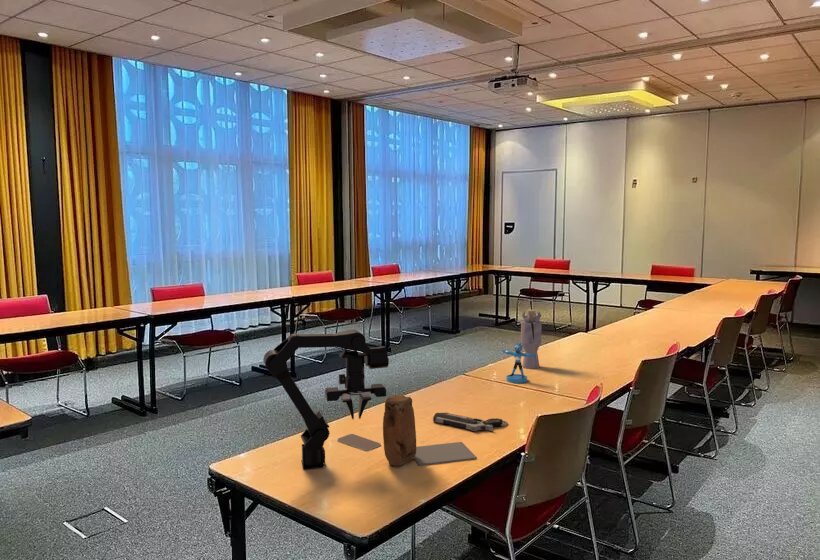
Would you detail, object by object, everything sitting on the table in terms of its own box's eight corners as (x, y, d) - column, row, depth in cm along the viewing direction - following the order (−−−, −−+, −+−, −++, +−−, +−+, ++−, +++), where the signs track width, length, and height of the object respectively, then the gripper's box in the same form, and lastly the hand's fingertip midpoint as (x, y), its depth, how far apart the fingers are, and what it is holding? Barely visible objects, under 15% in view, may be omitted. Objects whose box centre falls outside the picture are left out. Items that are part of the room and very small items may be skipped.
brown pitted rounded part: (399, 452, 192) (395, 392, 189) (419, 455, 188) (415, 394, 186) (381, 465, 182) (377, 402, 180) (402, 469, 178) (398, 405, 176)
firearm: (451, 406, 232) (431, 415, 220) (508, 418, 218) (490, 427, 206) (451, 414, 232) (430, 423, 220) (508, 426, 219) (489, 436, 206)
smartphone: (366, 450, 193) (335, 439, 203) (366, 453, 193) (336, 441, 203) (382, 443, 199) (351, 433, 208) (382, 446, 199) (351, 435, 208)
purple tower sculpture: (529, 363, 312) (529, 307, 309) (545, 366, 304) (545, 309, 301) (516, 366, 305) (517, 309, 302) (532, 370, 297) (533, 311, 294)
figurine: (496, 380, 279) (496, 342, 278) (506, 375, 287) (506, 339, 285) (530, 386, 268) (531, 347, 267) (540, 381, 276) (540, 343, 274)
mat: (419, 465, 181) (419, 464, 181) (407, 449, 195) (407, 447, 195) (476, 459, 186) (476, 457, 186) (461, 443, 200) (461, 441, 200)
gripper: (379, 362, 195) (379, 408, 196) (322, 366, 190) (323, 413, 192) (386, 370, 184) (387, 419, 186) (326, 374, 179) (327, 424, 181)
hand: (356, 418), depth 186 cm, fingers closed
